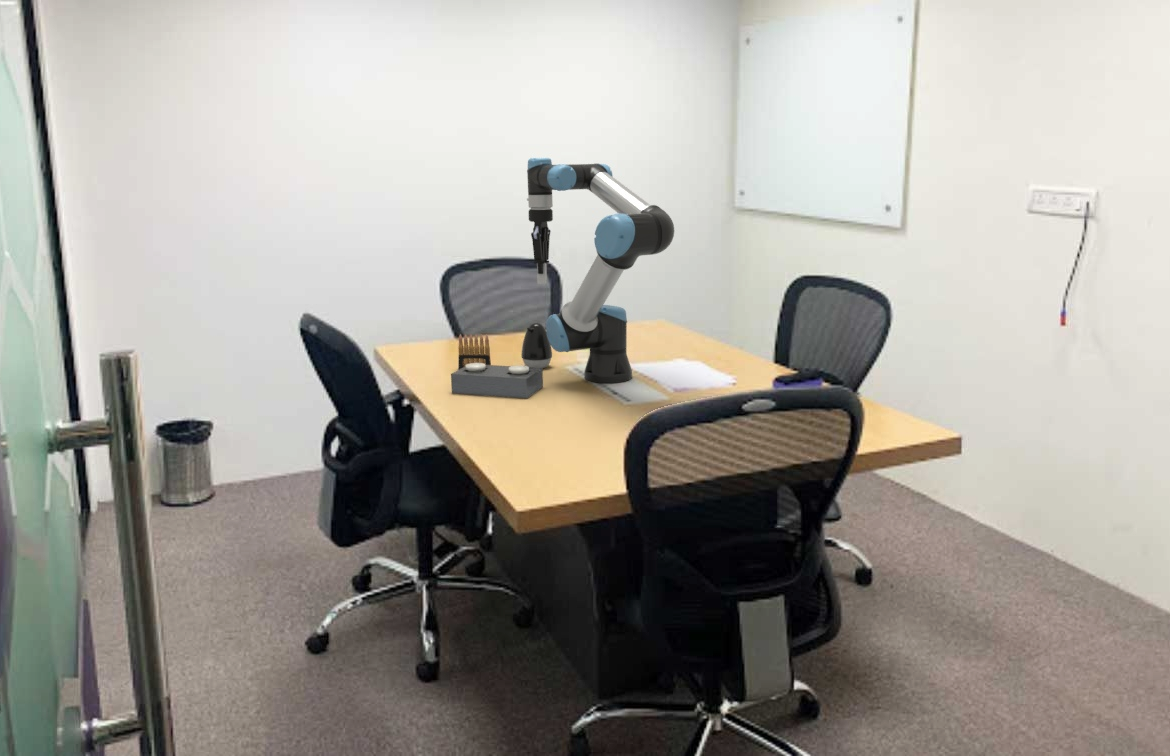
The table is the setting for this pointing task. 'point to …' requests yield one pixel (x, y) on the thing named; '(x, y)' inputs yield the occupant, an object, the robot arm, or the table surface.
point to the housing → (497, 382)
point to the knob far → (475, 367)
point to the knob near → (519, 370)
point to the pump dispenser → (536, 347)
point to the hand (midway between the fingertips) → (542, 283)
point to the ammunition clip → (473, 351)
